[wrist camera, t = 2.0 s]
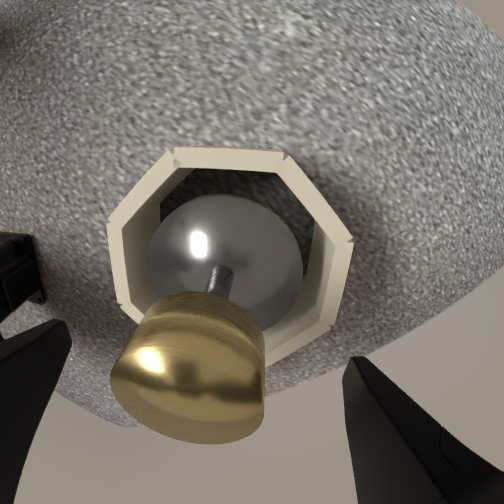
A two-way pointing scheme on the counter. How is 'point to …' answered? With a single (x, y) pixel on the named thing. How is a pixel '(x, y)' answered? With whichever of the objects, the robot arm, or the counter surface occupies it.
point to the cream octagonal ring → (236, 158)
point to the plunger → (209, 319)
